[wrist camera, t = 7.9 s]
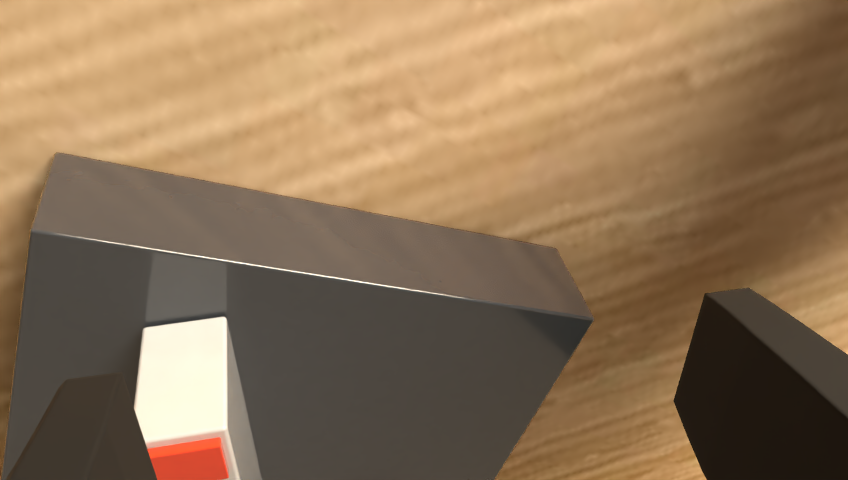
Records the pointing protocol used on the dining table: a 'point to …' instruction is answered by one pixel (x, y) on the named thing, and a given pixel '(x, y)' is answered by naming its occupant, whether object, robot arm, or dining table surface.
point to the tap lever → (193, 403)
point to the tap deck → (299, 319)
